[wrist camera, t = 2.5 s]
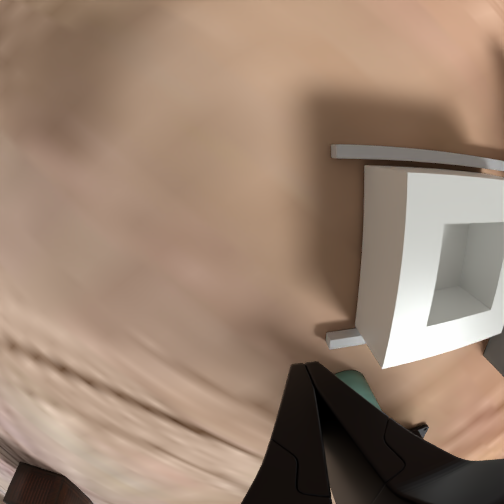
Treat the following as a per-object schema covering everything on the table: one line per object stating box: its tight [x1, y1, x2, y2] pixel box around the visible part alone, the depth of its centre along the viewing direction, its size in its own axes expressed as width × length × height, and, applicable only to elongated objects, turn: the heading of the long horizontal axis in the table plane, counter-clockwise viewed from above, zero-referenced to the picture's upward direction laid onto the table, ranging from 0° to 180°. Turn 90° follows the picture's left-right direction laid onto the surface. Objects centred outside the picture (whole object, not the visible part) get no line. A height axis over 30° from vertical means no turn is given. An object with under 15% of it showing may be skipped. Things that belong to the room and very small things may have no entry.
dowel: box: [335, 370, 382, 411], centre depth 19 cm, size 4×4×8 cm
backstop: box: [326, 144, 504, 377], centre depth 17 cm, size 26×21×5 cm
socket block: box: [355, 165, 504, 369], centre depth 16 cm, size 11×11×5 cm
